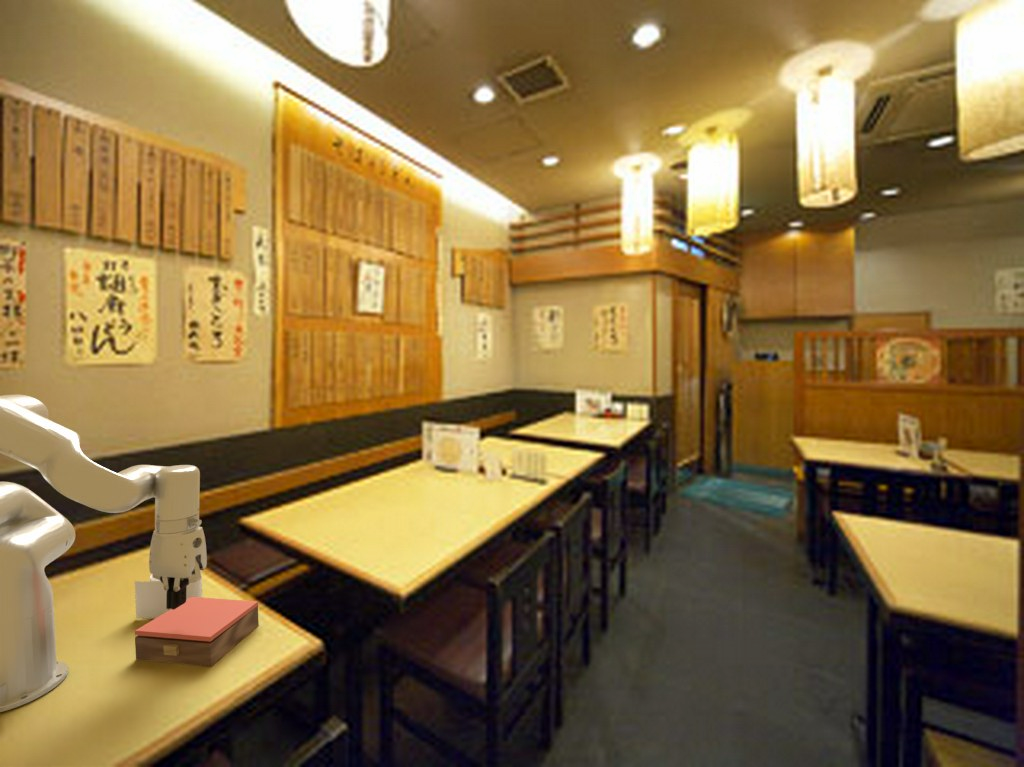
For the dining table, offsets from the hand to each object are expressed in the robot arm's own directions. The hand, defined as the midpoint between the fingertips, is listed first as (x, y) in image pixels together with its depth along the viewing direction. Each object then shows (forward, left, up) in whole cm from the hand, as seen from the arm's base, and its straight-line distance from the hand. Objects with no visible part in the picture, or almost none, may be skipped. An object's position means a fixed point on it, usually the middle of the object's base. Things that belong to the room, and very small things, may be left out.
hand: (176, 605), depth 91 cm
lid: (+5, -1, -6) cm, 8 cm away
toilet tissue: (+16, +17, -12) cm, 26 cm away
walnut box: (+5, -1, -12) cm, 12 cm away
